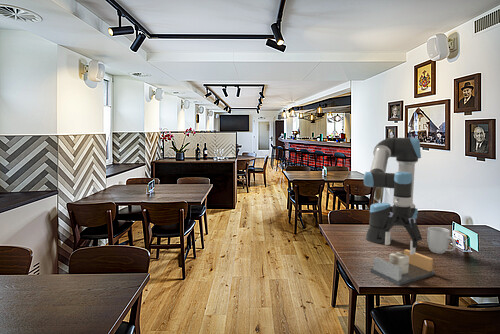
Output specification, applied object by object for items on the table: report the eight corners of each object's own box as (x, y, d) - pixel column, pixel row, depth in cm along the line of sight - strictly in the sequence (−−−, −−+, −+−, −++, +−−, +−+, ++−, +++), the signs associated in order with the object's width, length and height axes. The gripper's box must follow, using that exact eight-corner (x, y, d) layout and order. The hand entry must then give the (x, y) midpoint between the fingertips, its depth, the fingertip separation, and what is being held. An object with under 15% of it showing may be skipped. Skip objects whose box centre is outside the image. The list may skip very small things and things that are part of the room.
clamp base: (370, 272, 155) (371, 257, 154) (404, 262, 167) (405, 248, 166) (399, 285, 141) (400, 269, 140) (434, 274, 153) (435, 259, 152)
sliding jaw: (403, 261, 164) (404, 249, 164) (406, 260, 165) (406, 249, 165) (429, 271, 152) (430, 259, 151) (432, 270, 153) (432, 258, 152)
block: (388, 270, 154) (389, 254, 153) (397, 267, 156) (398, 252, 156) (399, 275, 148) (400, 258, 148) (408, 272, 151) (409, 256, 150)
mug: (459, 254, 178) (461, 232, 176) (449, 259, 172) (451, 235, 170) (432, 247, 190) (433, 225, 189) (422, 250, 184) (423, 228, 183)
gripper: (374, 200, 158) (372, 242, 161) (421, 212, 136) (418, 260, 139) (385, 199, 162) (383, 239, 164) (432, 210, 140) (429, 256, 142)
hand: (399, 249), depth 152 cm, fingers open, 13 cm apart
